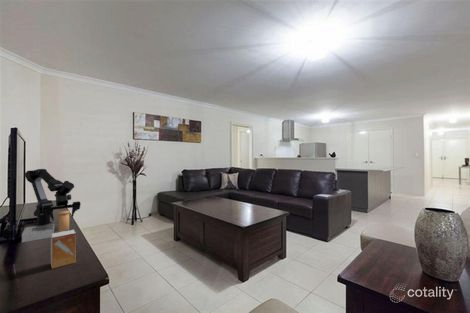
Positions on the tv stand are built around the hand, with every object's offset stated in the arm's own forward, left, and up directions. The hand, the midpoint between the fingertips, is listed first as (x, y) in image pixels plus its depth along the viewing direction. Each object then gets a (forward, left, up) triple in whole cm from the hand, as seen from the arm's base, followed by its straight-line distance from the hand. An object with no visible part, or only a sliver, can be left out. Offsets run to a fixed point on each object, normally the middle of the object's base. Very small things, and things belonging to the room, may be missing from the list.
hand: (62, 218), depth 134 cm
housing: (-6, -9, -8) cm, 13 cm away
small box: (+37, -36, -8) cm, 52 cm away
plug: (+4, -3, -8) cm, 9 cm away
